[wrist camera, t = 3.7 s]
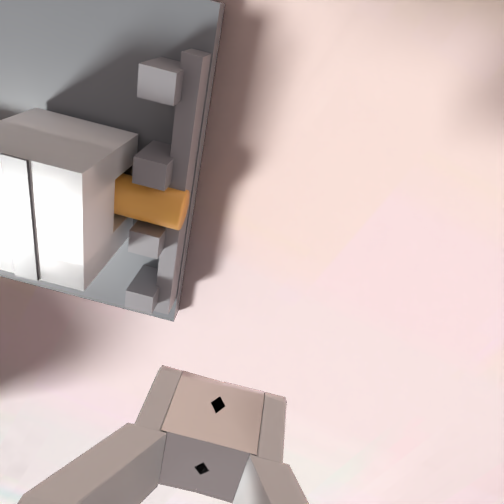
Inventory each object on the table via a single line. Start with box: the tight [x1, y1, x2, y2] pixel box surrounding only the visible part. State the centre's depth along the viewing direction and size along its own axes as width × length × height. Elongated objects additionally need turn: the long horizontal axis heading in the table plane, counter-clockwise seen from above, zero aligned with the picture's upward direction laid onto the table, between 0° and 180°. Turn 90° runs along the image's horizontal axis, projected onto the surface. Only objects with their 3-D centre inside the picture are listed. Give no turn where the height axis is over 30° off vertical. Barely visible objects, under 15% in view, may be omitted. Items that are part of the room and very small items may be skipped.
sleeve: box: [0, 108, 138, 291], centre depth 15 cm, size 4×4×4 cm
